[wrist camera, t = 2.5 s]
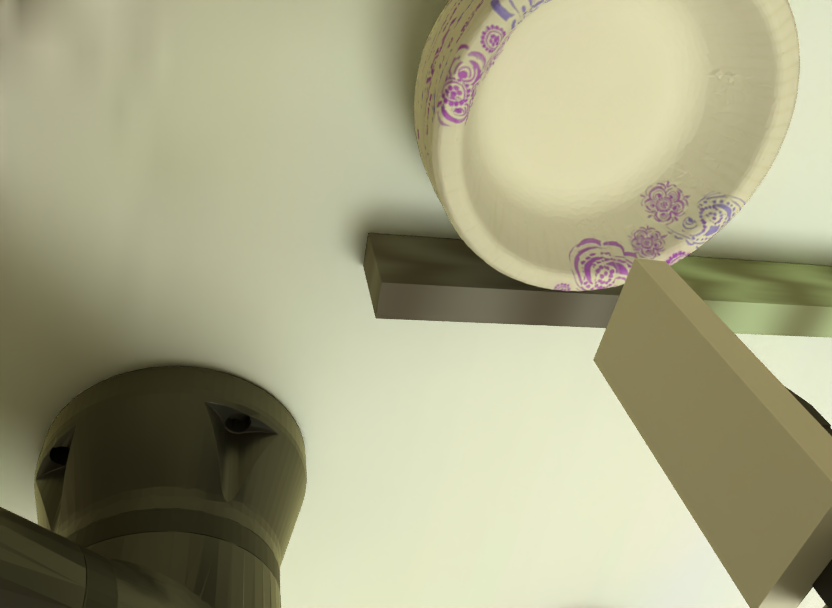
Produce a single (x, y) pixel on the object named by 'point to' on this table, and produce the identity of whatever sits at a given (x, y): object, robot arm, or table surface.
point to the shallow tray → (530, 305)
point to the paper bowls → (601, 127)
